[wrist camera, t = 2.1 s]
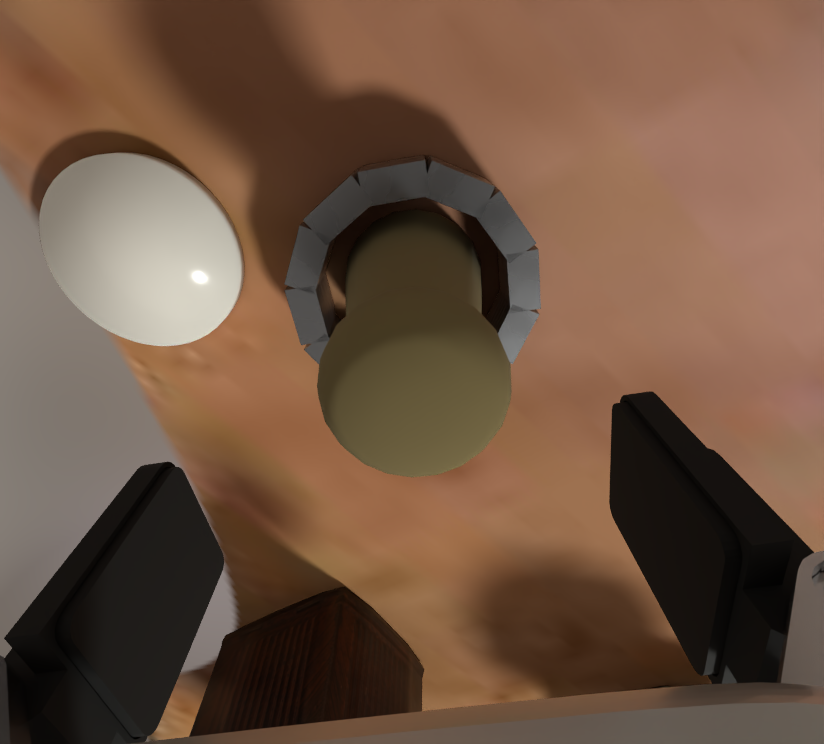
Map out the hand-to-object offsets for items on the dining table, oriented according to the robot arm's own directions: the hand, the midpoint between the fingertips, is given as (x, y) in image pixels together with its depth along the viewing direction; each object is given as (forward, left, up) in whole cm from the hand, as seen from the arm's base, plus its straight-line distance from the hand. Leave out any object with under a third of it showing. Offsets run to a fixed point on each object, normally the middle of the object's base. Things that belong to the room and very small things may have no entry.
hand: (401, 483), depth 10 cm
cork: (-1, 0, -13) cm, 13 cm away
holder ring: (-1, 0, -13) cm, 13 cm away
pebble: (-4, -11, -13) cm, 17 cm away
